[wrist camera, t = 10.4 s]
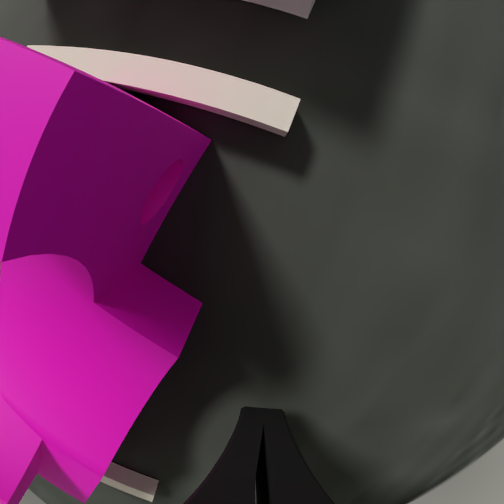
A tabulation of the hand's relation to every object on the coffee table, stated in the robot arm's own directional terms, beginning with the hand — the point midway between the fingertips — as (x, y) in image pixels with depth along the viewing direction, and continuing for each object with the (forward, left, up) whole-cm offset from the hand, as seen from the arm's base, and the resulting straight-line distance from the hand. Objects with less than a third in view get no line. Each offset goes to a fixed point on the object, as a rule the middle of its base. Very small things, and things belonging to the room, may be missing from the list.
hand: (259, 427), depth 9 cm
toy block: (+7, -1, -2) cm, 7 cm away
